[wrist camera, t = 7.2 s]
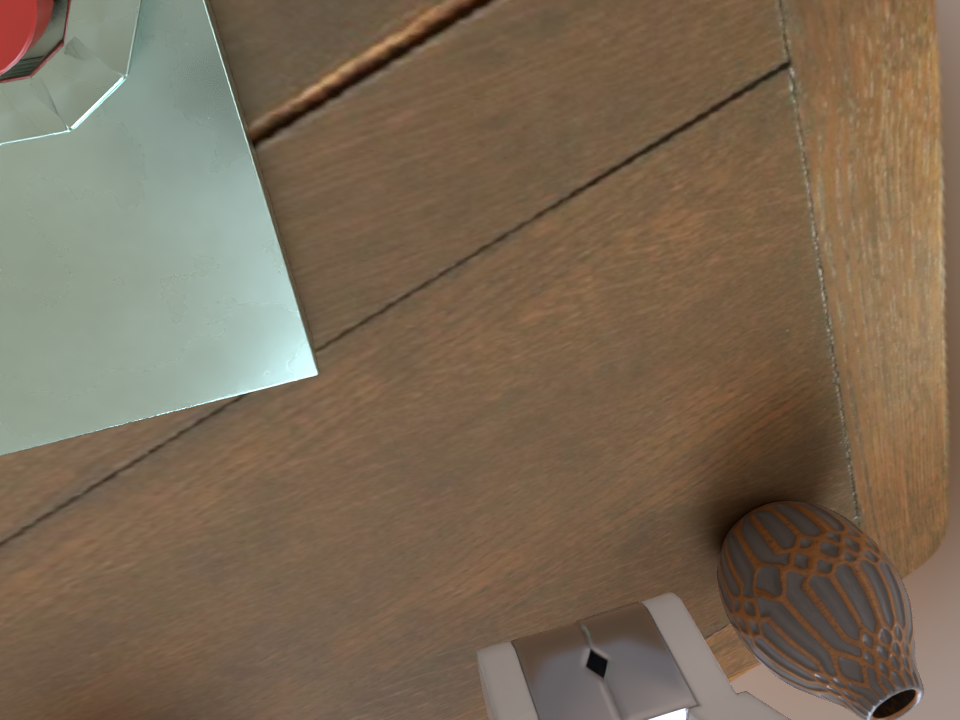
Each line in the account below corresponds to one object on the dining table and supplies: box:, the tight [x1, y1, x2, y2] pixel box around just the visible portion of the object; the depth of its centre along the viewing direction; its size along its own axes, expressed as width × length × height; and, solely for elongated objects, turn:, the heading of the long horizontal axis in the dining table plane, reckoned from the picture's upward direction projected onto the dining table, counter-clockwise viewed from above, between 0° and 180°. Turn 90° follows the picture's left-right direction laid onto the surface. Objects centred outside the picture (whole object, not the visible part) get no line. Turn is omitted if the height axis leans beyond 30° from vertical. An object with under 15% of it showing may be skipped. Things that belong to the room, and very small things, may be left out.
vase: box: [717, 501, 924, 720], centre depth 31 cm, size 7×7×9 cm
